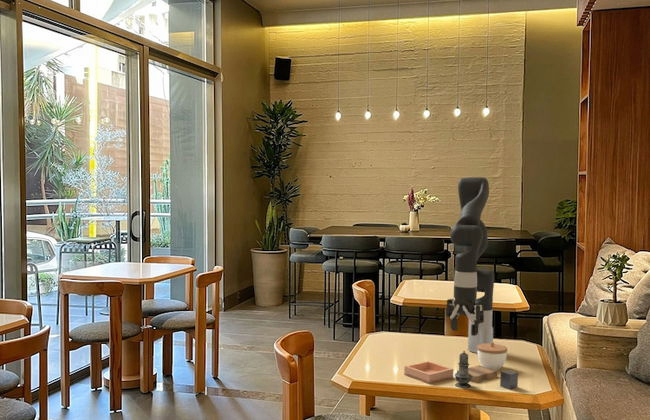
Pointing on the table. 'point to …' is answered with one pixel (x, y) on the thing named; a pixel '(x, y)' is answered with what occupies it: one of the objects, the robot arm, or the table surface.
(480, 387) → the table surface
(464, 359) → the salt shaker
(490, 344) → the lidded jar
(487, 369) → the bronze block
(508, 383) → the dark gray block
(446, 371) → the tray
